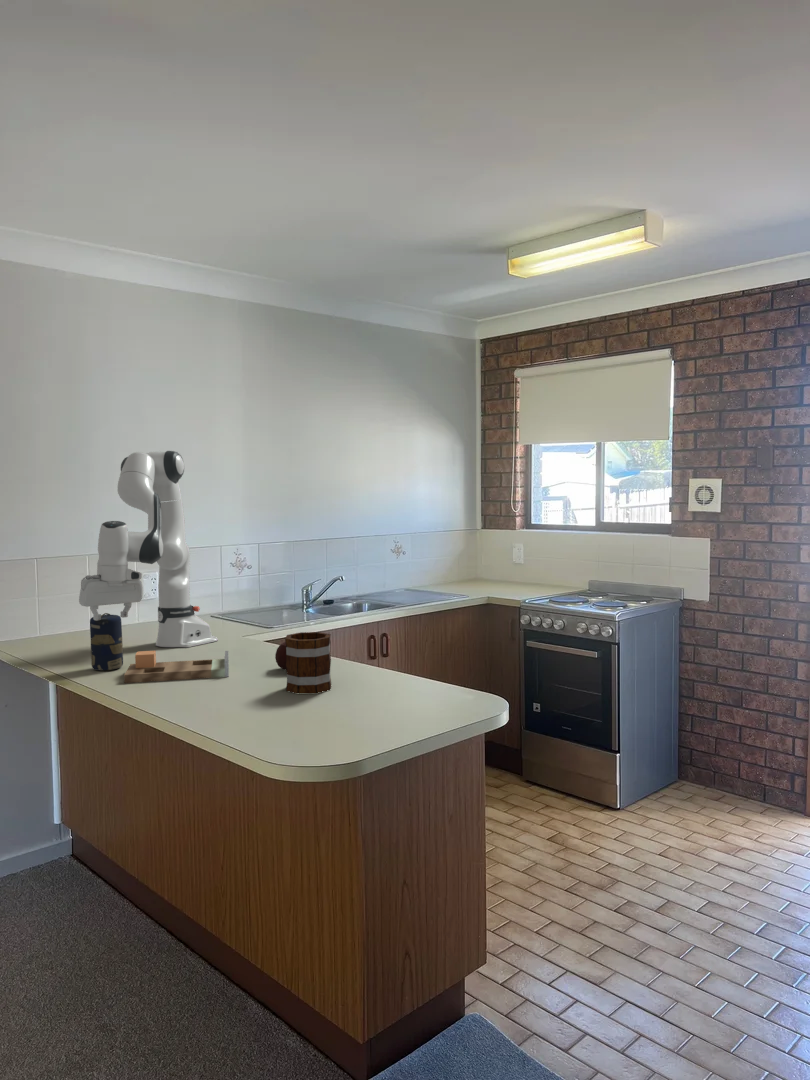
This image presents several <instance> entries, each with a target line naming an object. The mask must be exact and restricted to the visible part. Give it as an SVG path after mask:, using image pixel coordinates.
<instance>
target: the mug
mask: <svg viewBox="0 0 810 1080" xmlns="http://www.w3.org/2000/svg"><path fill="white" fill-rule="evenodd" d="M331 636H332V634H331V633H326V632H321V631H313V632H312V631H308V632H307V631H305V632H304V631H302V632H301V631H300V632H296V633H290V634H287V635H286V636H285V638H284V642H286V670H285V671H286V688H285V690H286V692H288V691H290V692H289V693H292V692H294V693H293V694H295V693H318V692H321V693H323V692H322V691H325V692H328V691H327V690H329V691H331V690H330V689H332V686H331V685H332V679H331V665H332V658H331ZM318 694H319V693H318Z"/></svg>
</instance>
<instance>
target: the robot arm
mask: <svg viewBox="0 0 810 1080" xmlns="http://www.w3.org/2000/svg"><path fill="white" fill-rule="evenodd" d="M184 472H185V463H184V459H183V457H182V455H181V453H179V452H178V451H174V450H166V451H149V452H142V451H136V452H132V453H130V455H128V456H126V457H124V459H123V460H122V461H121V463H120V474H119V477H118V481H117V482H118V483H117V494H118V496H119V498H120V499H121V500H122V502H124V503H125V504H127V505H128V506H130V507H131V508H134V509H137V510H140V511H142V512H144V513H145V514H147V530H146V531H128V530H129V529H128V525H127V523H126V522H124V521H120V520H109V521H105V522H102V523H101V525H100V528H99V533H98V541H97V552H98V553H97V554H98V559H97V563H96V565H97V567H96V568H97V569H96V574H94V575H89V574H88V575H85V577H83V578H82V579H81V580H80V591H79V596H78V602H79V604H80V606H81V607H86V608H88V607H89V609H90V611H91V613H92V614H93V616H92V617H93V619H94V620H96V621H97V620H101V615H102V613H101V614H100V613H99V612H98V610H99V606H108V605H109V606H110V605H121V604H123V606H124V608H123V609H122V610H121V611H120V615H119V616H120V617H121V618H128V616H129V615H128V614H129V611H130V610H131V608H132V603H140V602H141V601H142V599H143V594H144V593H143V591H144V590H143V583H142V578H143V577H142V575H143V574H142V572H139V571H137V570H133V569H132V568H131V569H130V568H129V567H128V565H129V563H131V562H132V563H140V564H142V563H143V564H149V565H153V564H155V563H156V564H157V565H159V567H158V568H159V569H158V583H157V585H158V586H157V587H158V606H157V621H158V628H157V629H158V632H157V638H156V642H155V646H156V647H161V648H190V647H195V646H199V645H200V646H202V645H204V644H209V643H213V642H217V641H218V637H217V636H215V635H212V631H211V626H210V624H209V623H208V622H206V621H205V620H204V619H202V618H201V617H199V616H197V615H196V614H195V612H196V613H197V612H199V611H200V609H201V608H200V606H198V605H195V606H194V605H191V597H190V596H191V594H190V593H191V592H190V590H191V589H190V578H191V577H190V575H191V574H190V573H191V572H190V571H191V566H190V565H191V553H190V552H191V551H190V547H189V545H188V544H187V541H186V527H185V526H186V525H185V523H186V522H185V514H184V506H183V505H184V504H183V496H182V491H181V487H180V484H179V480H180V479H182V476H183V475H184ZM128 562H129V563H128Z"/></svg>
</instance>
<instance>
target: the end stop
mask: <svg viewBox="0 0 810 1080" xmlns="http://www.w3.org/2000/svg"><path fill="white" fill-rule="evenodd" d="M229 658H230V657H229V650H225V651H224V659H225V677H224V678H229V673H230V671H229V670H230V668H229V667H230V665H229V661H230V659H229Z"/></svg>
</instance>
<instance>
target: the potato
mask: <svg viewBox="0 0 810 1080" xmlns="http://www.w3.org/2000/svg"><path fill="white" fill-rule="evenodd" d="M274 655H275V656H274V658H275V662H276V663H277V666H278V667H279V668H280V669H282V670H285V671H286V642H285V641H284V642H282V643H281V644H279V645H278V647H277V648H276V650H275V654H274Z"/></svg>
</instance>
